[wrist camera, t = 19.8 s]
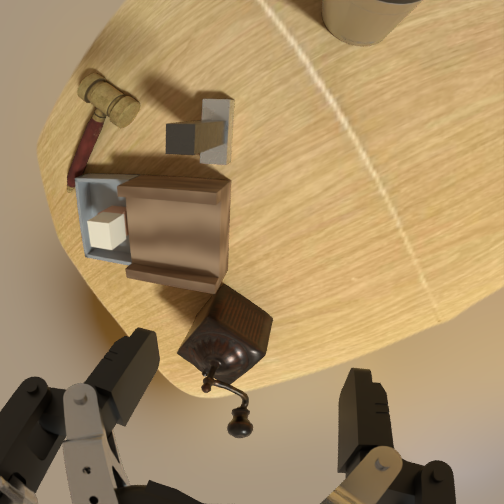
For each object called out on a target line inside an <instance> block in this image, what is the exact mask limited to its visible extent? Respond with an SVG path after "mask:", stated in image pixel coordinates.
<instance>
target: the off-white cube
mask: <svg viewBox="0 0 504 504" xmlns="http://www.w3.org/2000/svg"><path fill="white" fill-rule="evenodd" d="M87 223H88V231H89V238H90V244H91V247H96V248H102V249H108V250H113V249H114V248H116V247H117V246H118V245H119V244H121V243H122V242H123V241H125V240H126V232H125V221H124V214H120V213H110V212H102V213H100V214H98V215H96V216H95V217H93V218H91V219H89V220H88V221H87Z"/></svg>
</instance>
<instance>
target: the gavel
mask: <svg viewBox="0 0 504 504" xmlns="http://www.w3.org/2000/svg"><path fill="white" fill-rule="evenodd" d="M77 94H78V96H79V97H80V98H81V99H82V100H84V101H85V102H86V103H91V104H92V105H94V106H95V107H96V109H95V112H94V114H93V116H92V118H91V119H90V121H89V122H88V125H87V127H86V129H85V132H84V134H83V136H82V139H81V141H80V144H79V146H78V149H77V151H76V154H75V156H74V159H73V162H72V164H71V167H70V170H69V173H68V176H67V187H68V188H67V192H68V193H71V192H72V189H74V188H75V178H77V177H79V176H82V174H83V172H84V169H85V167H86V164H87V162H88V159H89V157H90V154H91V152H92V150H93V147H94V145H95V143H96V141H97V138H98V136H99V134H100V132H101V130H102V127H103V124H104V120H105V118H106V116H108V117H110V121H111V122H112V123H114V124H115V125H116V126H117V127H119V128H124V127H126V126H128V125H129V124H130V123H131V122H132V121H133V120H134V118H135V117H136V115H137V113H138V112H139V109H140V103H139V102H137V101H136V100H135V99H133V98H132V97H130V96H125V95H124V94H123V93H121V92H120V91H118V90H117V89H116V88H114V87H113V86H111V85H110V84H108V83H106V79H105V78H103V77H102V76H100V75H99V74H97V73H92V74H90V75H88V76H87V77H86V78H84V80H83V81H82V82H81V83H80V85H79V88H78V91H77Z"/></svg>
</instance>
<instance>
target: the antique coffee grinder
mask: <svg viewBox="0 0 504 504" xmlns="http://www.w3.org/2000/svg"><path fill="white" fill-rule="evenodd" d="M272 321H273V318H272V317H271V316H270V315H269V314H268V313H266V312H265V311H264V310H262V309H261V308H260V307H258V306H257V305H255V304H254V303H252V302H251V301H250V300H248V299H247V298H245V297H244V296H242V295H241V294H239V293H237V292H236V291H234V290H233V289H231V288H230V287H228V286H227V285H225V284H223V285H222V286H221V287H220V288H219V289H218V290H217V292H216V294H214V295H213V296H212V297H211V298H210V299H209V301H208V302H207V303H206V304H205V306H204V307H203V308H202V309H201V310H200V312H199V313H198V314H197V316H196V318H195V321H194V323H193V325H192V326H191V328H190V330H189V332H188V334H187V335H186V337H185V339H184V341H183V343H182V344H181V346H180V348H179V350H178V352H177V354H178V355H180V356H181V357H183V358H184V359H186V360H187V361H188V362H190V363H191V364H193V365H194V366H195V367H196V368H197V369H199V370H200V371H201V372H202V375H203V376H204V377H206V376H207V377H206V378H204V379H203V383H204V384H203V385H202V387H201V388H202V391H203V392H204V393H208V392H209V391H211V386H212V385H214V386H217V387H220V388H224V389H227V390H229V391H231V392H233V393H235V394H237V395H239V396H240V397H241V398H242V404H241V406H240V407H238V408H236V409H233V410H232V415H233V419H232V421H231V422H230V423H229V424H228V427H227V430H228V433H229V434H230V435H232V436H234V437H235V438H243V437H247V436H249V435H250V434H251V433H252V431H253V425H252V424H251V423H250V422H249V420H248V415H249V413H250V411H249V410H248V409H247V406H248V403H249V398H248V396H247V394H246V393H244V392H243V391H241V390H239V389H237V388H235V387H233V386H231V385H230V384H231V383H233V382H234V381H235V380H237V379H238V378H239V377H241V376H242V375H243V374H245V373H246V372H247V371H248V370H250V369H251V368H252V367H253V366H254V365H255V364H257V363H258V362H259V361H260V360H261V359H262V358H263V357H264V356H265V355H266V351H267V346H268V341H269V336H270V331H271V326H272ZM213 378H215V379H217V380H214V379H213Z"/></svg>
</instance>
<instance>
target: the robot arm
mask: <svg viewBox="0 0 504 504" xmlns="http://www.w3.org/2000/svg"><path fill="white" fill-rule="evenodd" d="M422 1H423V0H322V18H323V21H324V23H325V26H326V27H327V28H328V30H329V31H330V32H331V33H332V34H333V35H334V36H335V37H337V38H338V39H340V40H341V41H343V42H346V43H348V44H351V45H355V46H371V45H374V44H377V43H379V42H380V41H382V40H383V39H384V38H385V37H386V36H387V35H388V34H389V33H390V32H391V31H392V30H393V29H394V28H395V27H396V26H397V25H398V24H399V23H400V22H401V21H402V20H403V19H404V18H405V17H407V16H408V15H409V14H410V13H411V12H412V11H413V10H414V9H415V8H416V7H417V6H418V5H419V4H420V3H421V2H422ZM159 361H160V356H159V350H158V343H157V336H156V333H155V332H154V331H150V330H147V329H143V328H139V327H138V328H136V329H135V331H134V332H133V333H132V335H131V336H130V337H127V336H124V337H123V338H121V339H119V340H118V341H116V342H115V343H114V345H113V346H112V347H111V348H110V350H109V352H107V353H106V355H105V356H104V358H103V359H102V360H101V361H100V362H99V364H98V365H97V367H96V368H95V369H94V371H93V372H92V373H91V375H90V376H89V377H88V378H87V380H86V381H85V382H84V383H78V384H74V385H72V386H70V387H69V388H68V389H67V390H65V389H57V388H50V387H48V385H47V383H46V382H45V380H43V379H42V378H40V377H30V378H28V379H26V380H25V381H23V382H22V384H21V385H20V386H19V387H18V389H17V390H16V391H15V392H14V394H13V395H12V397H11V398H10V399H9V401H8V402H7V403H6V405H5V406H4V407H3V409H2V410H1V412H0V504H38V500H37V497H36V495H35V493H36V491H37V489H38V487H39V485H40V483H41V481H42V480H43V478H44V476H45V474H46V472H47V470H48V468H49V466H50V464H51V463H52V461H53V459H54V457H55V455H56V453H57V452H58V450H59V448H60V446H61V444H62V443H63V454H64V461H65V467H66V473H67V479H68V484H69V490H70V495H71V499H72V503H73V504H204V503H201V502H199V501H197V500H195V499H193V498H192V497H190V496H188V495H186V494H184V493H182V492H181V491H179V490H177V489H174V488H171V487H168V486H165V485H162V484H159V483H156V482H153V481H151V480H149V481H148V484H147V485H130V483H129V480H128V477H127V475H126V473H125V471H124V468H123V465H122V462H121V458H120V454H119V451H118V447H117V443H116V439H115V435H114V431H113V428H114V427H115V425H116V423H117V424H120V425H122V426H126V424H127V422H128V421H129V419H130V417H131V415H132V413H133V412H134V409H135V408H136V406H137V405H138V403H139V401H140V399H141V397H142V396H143V394H144V392H145V390H146V389H147V387H148V385H149V383H150V382H151V380H152V378H153V376H154V375H155V373H156V371H157V369H158V366H159ZM66 436H67V440H66V441H64V439H65V437H66ZM338 473H346V479H345V480H344V481H343V482H342V483H341V484H340V485H339V486H338V487H337V488H336V490H334V491H333V492H332V493H331V494H330V495H329V496H328V497H327V498H326V499H325V500H324V501H323V502H322V503H320V504H456V497H455V486H454V476H453V471H452V469H451V467H450V466H449V465H448V464H447V463H445V462H443V461H439V460H438V461H437V460H435V461H431V462H429V463H428V464H426V465H425V466H423V465H419V464H415V463H411V462H408V461H406V460H404V459H402V458H401V455H400V454H399V453H398V452H397V451H396V450H395V449H394V445H393V438H392V429H391V422H390V415H389V407H388V400H387V394H386V392H385V390H384V388H383V387H382V385H381V384H380V383H373V382H372V375H371V371H370V370H369V369H360V368H351V370H350V372H349V374H348V377H347V379H346V381H345V384H344V386H343V388H342V391H341V394H340V398H339V435H338Z"/></svg>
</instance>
